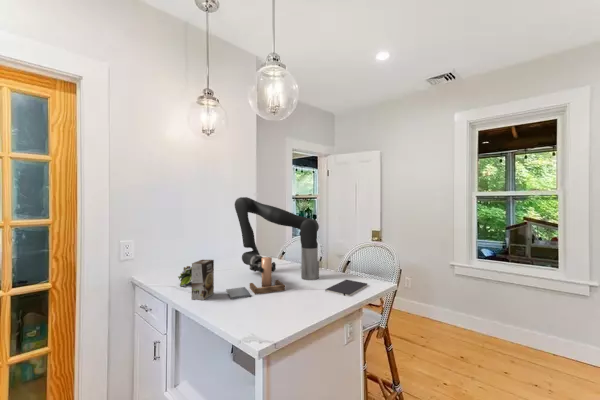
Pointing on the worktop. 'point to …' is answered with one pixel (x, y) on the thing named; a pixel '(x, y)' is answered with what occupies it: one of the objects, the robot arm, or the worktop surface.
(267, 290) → the wooden u-shaped frame
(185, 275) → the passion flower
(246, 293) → the slate pad
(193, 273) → the coffee box
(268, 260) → the canister
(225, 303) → the worktop surface
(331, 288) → the notebook
